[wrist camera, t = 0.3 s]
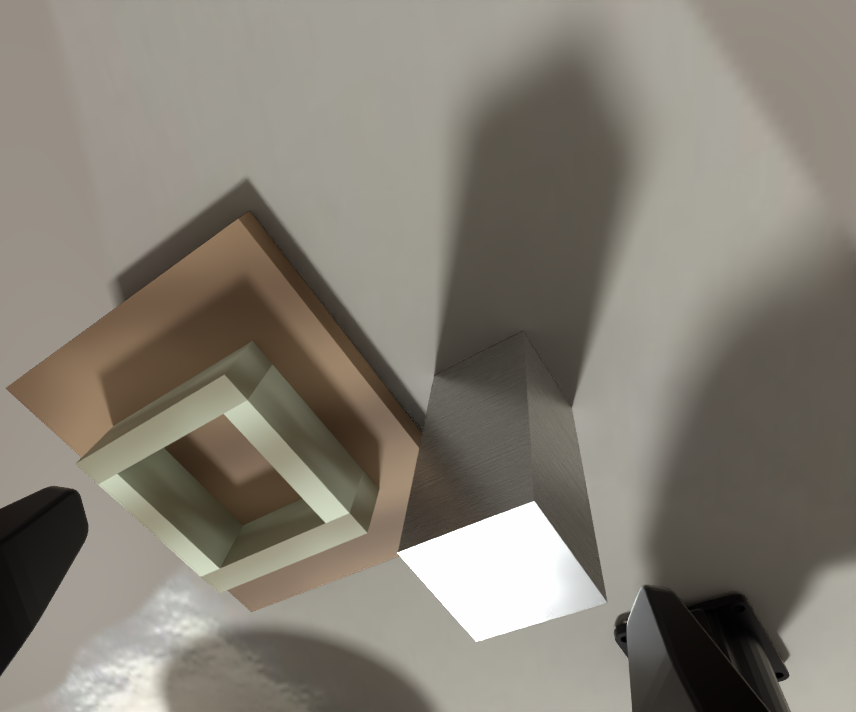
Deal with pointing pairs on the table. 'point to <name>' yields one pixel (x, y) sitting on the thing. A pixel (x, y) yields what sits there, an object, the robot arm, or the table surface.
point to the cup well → (236, 422)
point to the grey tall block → (502, 496)
